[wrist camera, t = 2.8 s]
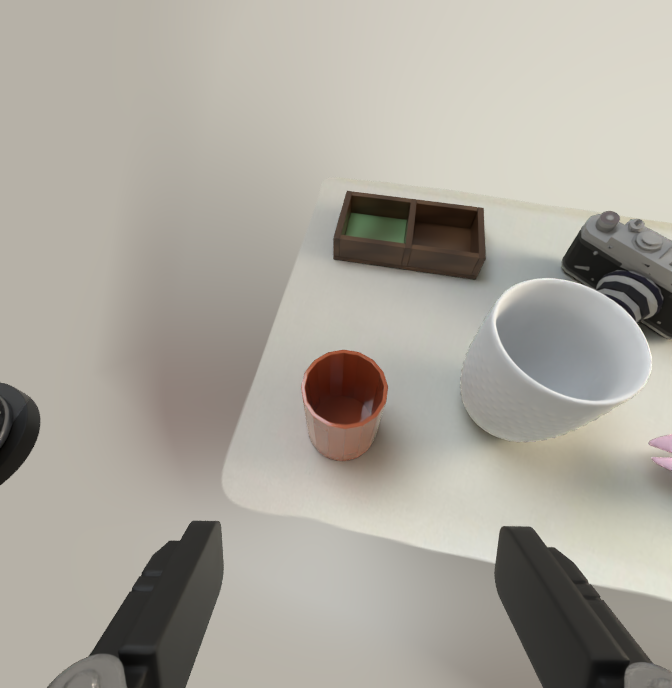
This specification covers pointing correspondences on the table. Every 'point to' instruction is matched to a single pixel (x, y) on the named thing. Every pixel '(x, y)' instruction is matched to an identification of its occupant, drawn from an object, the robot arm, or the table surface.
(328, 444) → the cup
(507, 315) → the mug
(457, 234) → the holder
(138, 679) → the robot arm
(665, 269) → the camera
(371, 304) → the table surface
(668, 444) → the rabbit figure
